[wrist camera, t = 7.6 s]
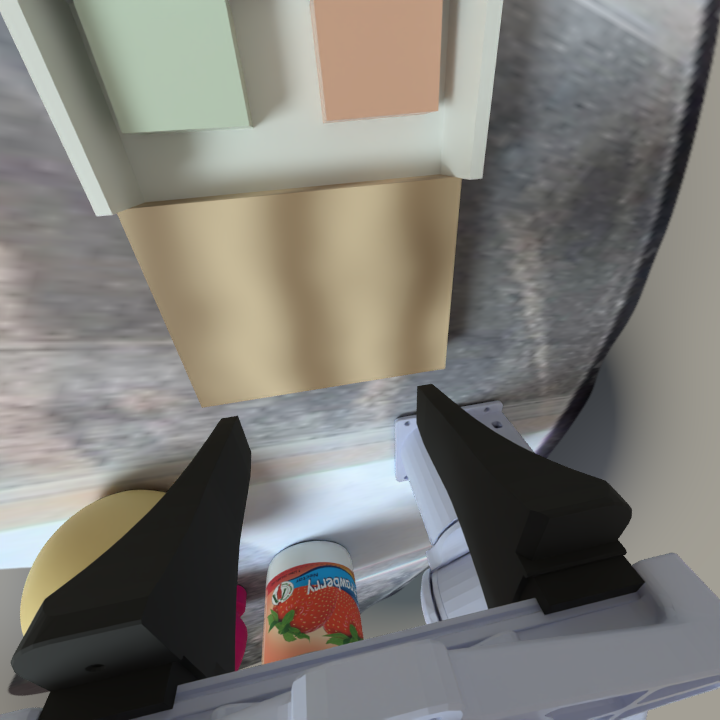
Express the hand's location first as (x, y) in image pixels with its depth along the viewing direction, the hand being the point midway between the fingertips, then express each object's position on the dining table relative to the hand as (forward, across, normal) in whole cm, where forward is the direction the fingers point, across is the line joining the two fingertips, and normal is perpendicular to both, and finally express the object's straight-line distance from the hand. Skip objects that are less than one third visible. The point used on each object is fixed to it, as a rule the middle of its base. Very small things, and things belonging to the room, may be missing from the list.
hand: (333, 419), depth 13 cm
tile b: (+8, +4, -12) cm, 15 cm away
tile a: (+8, -4, -12) cm, 15 cm away
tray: (+10, 0, -11) cm, 15 cm away
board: (+10, 0, -2) cm, 10 cm away
